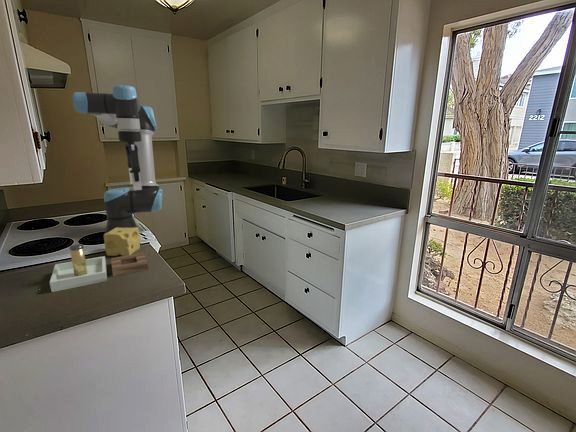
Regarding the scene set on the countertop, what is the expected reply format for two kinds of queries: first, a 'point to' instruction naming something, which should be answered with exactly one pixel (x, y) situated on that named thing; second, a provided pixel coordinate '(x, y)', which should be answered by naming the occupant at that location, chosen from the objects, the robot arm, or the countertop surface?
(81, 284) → the tray
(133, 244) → the cheese
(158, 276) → the countertop surface
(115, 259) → the pin block
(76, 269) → the brown and black cylinder
